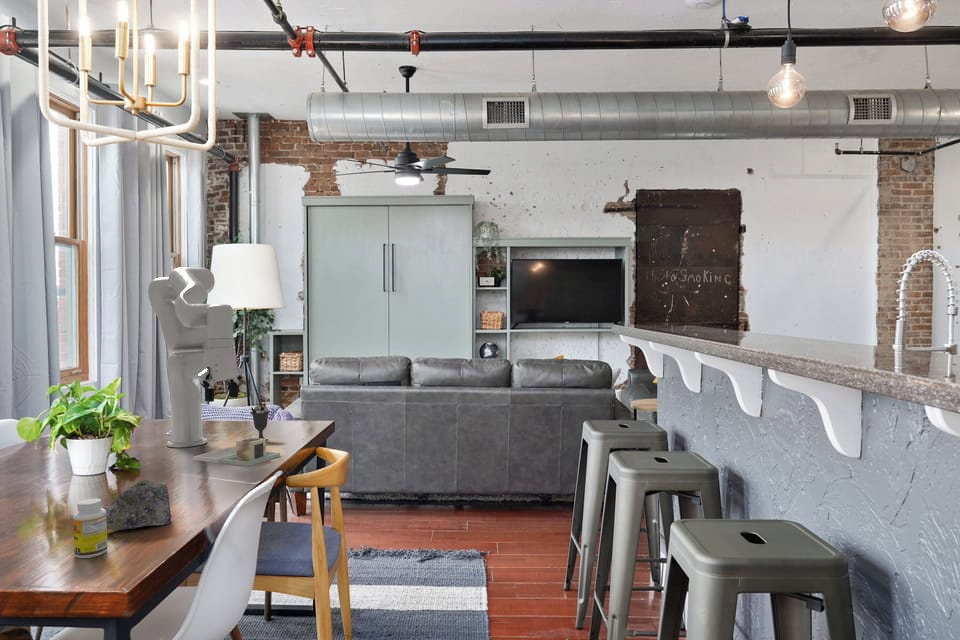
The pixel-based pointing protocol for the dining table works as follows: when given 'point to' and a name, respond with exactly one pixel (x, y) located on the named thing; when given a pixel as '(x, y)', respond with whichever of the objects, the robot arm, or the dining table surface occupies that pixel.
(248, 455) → the light wooden cube
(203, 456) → the tray white
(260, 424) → the sundae
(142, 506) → the mineral rock
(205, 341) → the robot arm
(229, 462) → the tray sage
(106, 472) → the dining table surface
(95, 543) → the supplement bottle
